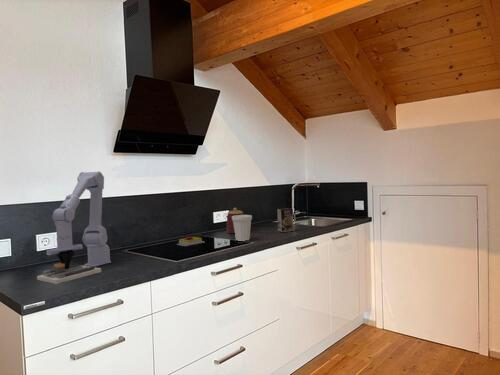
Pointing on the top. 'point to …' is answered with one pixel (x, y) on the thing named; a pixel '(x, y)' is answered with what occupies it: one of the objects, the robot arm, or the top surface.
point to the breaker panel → (68, 274)
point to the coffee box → (285, 219)
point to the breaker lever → (59, 268)
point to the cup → (242, 227)
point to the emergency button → (190, 241)
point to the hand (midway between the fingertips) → (66, 269)
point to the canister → (230, 222)
